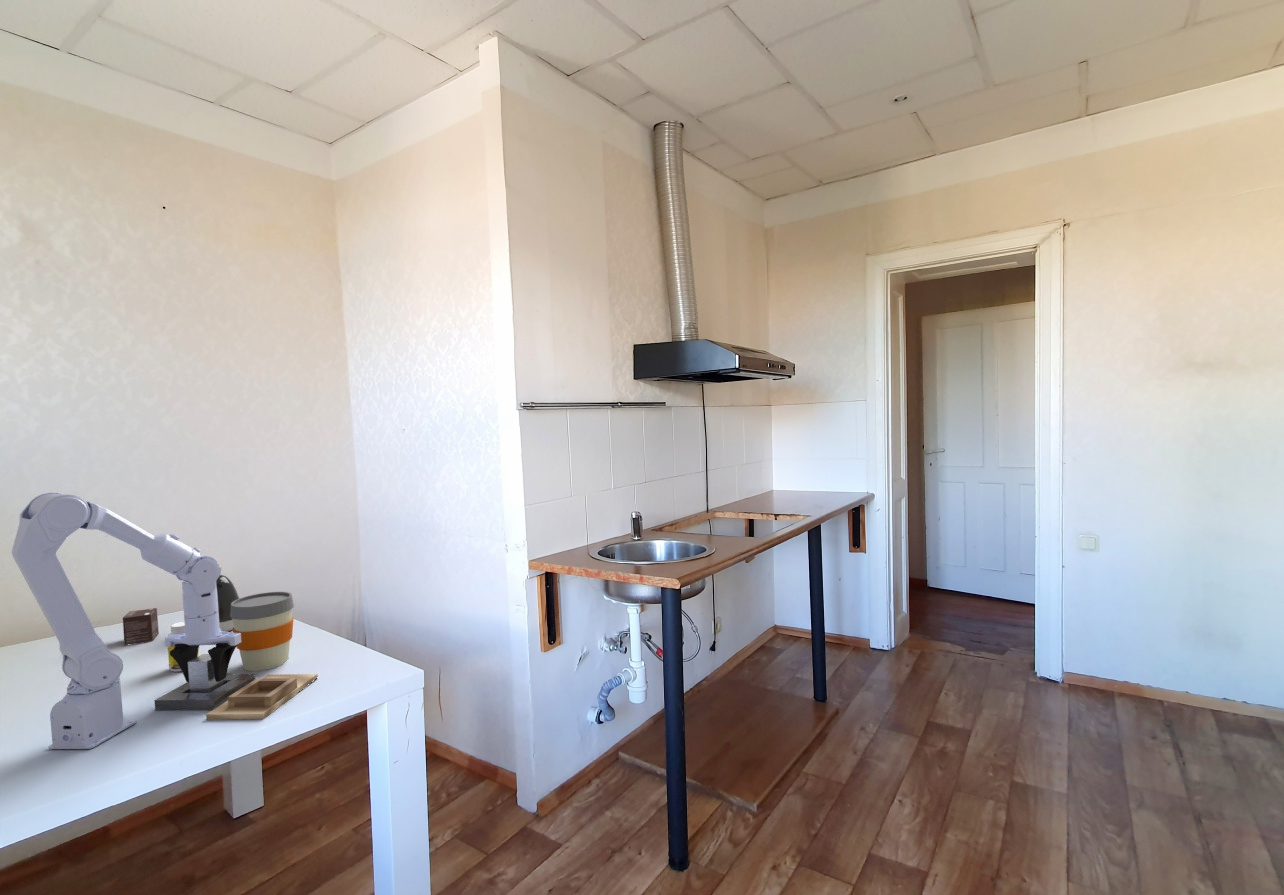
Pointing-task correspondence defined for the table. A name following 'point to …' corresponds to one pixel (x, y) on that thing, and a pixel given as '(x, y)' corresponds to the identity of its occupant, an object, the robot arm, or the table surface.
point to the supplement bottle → (175, 629)
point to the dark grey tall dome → (225, 602)
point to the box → (140, 626)
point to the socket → (202, 695)
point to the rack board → (261, 697)
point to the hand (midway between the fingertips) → (206, 679)
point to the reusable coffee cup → (263, 629)
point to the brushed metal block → (202, 675)
